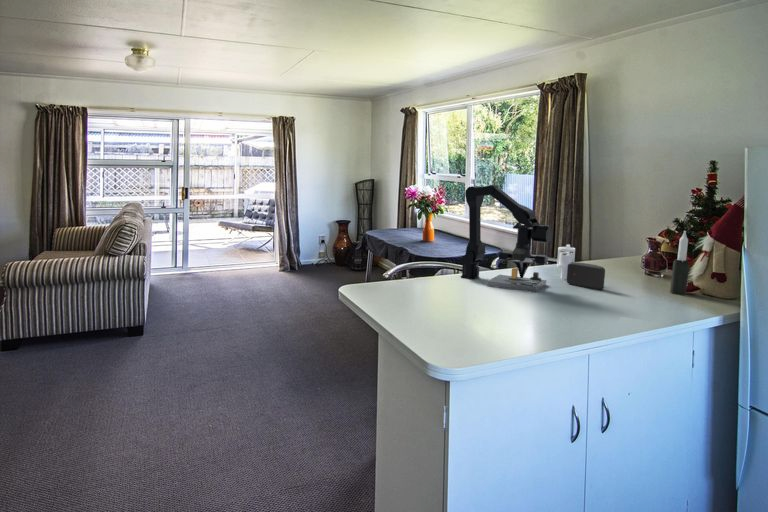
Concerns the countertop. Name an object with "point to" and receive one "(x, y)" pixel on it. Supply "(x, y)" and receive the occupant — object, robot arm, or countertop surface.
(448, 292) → the countertop surface
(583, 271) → the dark rounded block
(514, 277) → the block
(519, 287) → the breaker panel
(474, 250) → the robot arm
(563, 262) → the white stepped cylinder
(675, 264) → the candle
